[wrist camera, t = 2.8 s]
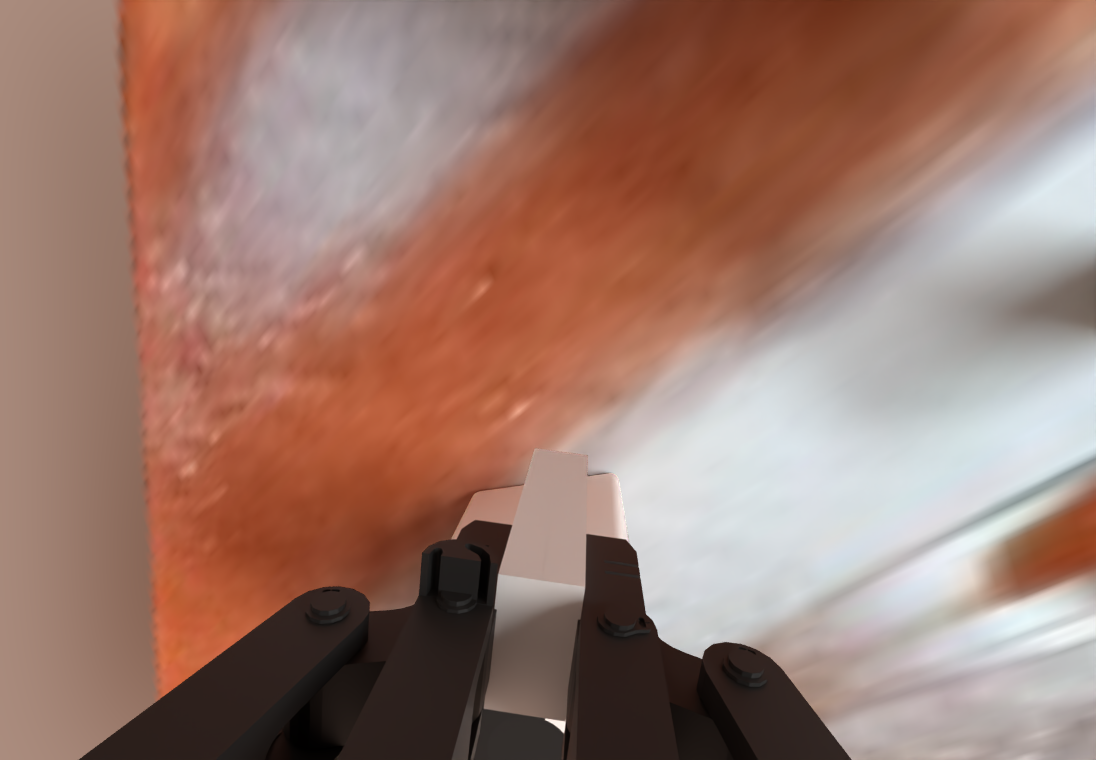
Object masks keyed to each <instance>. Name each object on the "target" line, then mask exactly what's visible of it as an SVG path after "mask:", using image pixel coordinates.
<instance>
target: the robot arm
mask: <svg viewBox="0 0 1096 760" xmlns="http://www.w3.org/2000/svg"><path fill="white" fill-rule="evenodd" d="M587 463H588V455H581V454H574V453H567V452H559V451H552V450H545V449H537V448H535V449H534V452H533V456H532V459H531V463H530V466H529V470H528V473H527V477H526V480H525V484H524V487H523V490H522V494H521V497H520V501H519V504H518V508H517V511H516V515H515V518H514V521H513V525H509V524H502V523H495V522H488V521H481V520H474V521H472V522H471V523H469V524H468V525H466V526H465V527H463V528H462V529H461V531H460V533H459V535H458V537H457V539H451V540H445V541H440V542H437V543H435V544H433V545H430V546H429V547H428V548H427V549H426V550H425V551H424V552H423V553H422V563H421V576H420V589H419V596H418V598H417V600H416V602H415V604H414V605H412V606H409V607H405V608H402V609H395V610H386V611H371V612H369V606H370V602H369V601H368V599H367V598H366V597H365V595H364V594H362V593H360V592H358V591H356V590H354V589H351V588H345V587H323V588H319V589H315V590H312V591H308V592H306V593H304V594H302V595H301V596H299V597H297V598H295V599H294V600H292V601H291V602H290V603H288V604H287V605H286V606H284V607H283V608H282V609H280V610H279V611H278V612H276V613H275V614H274V615H272V616H271V617H270V618H268V619H267V620H266V621H264V622H263V623H262V624H260V625H259V626H258V627H256V628H255V629H254V630H252V631H251V632H249V633H248V634H247V635H245V636H244V637H243V638H241V639H240V640H239V641H237V642H236V643H235V644H233V645H232V646H231V647H229V648H228V649H227V650H225V651H224V652H223V653H221V654H220V655H219V656H217V657H216V658H215V659H213V660H212V661H211V662H209V663H208V664H207V665H205V666H204V667H202V668H201V669H200V670H198V671H197V672H196V673H194V674H193V675H192V676H190V677H189V678H188V679H186V680H185V681H184V682H182V683H181V684H180V685H178V686H177V687H176V688H174V689H173V690H172V691H170V692H169V693H168V694H166V695H165V696H164V697H162V698H161V699H160V700H158V701H157V702H156V703H154V704H153V705H151V706H150V707H149V708H148V709H146V710H145V711H143V712H142V713H141V714H139V715H138V716H137V717H136V718H134V719H133V720H131V721H130V722H129V723H127V724H126V725H125V726H123V727H122V728H121V729H119V730H118V731H117V732H115V733H114V734H113V735H111V736H110V737H109V738H107V739H106V740H104V741H103V742H102V743H100V744H99V745H98V746H97V747H95V748H94V749H93V750H91V751H90V752H88V753H87V754H86V755H84V756H83V757H82V758H80V759H79V760H474V755H475V751H476V747H477V742H478V738H479V734H480V726H481V716H482V708H483V703H484V709H489V710H495V711H502V712H508V713H514V714H521V715H527V716H534V717H540V718H546V719H553V720H559V721H565V722H566V724H565V731H564V738H563V744H562V751H561V758H560V760H851V758H850V757H849V756H848V755H847V753H846V752H845V751H844V749H843V748H842V747H841V745H840V744H839V743H838V742H837V740H836V739H835V738H834V736H833V735H832V734H831V732H830V731H829V730H828V728H827V727H826V726H825V725H824V723H823V722H822V721H821V719H820V718H819V717H818V715H817V714H816V713H815V712H814V710H813V709H812V708H811V706H810V705H809V704H808V702H807V701H806V700H805V698H804V697H803V696H802V695H801V693H800V692H799V691H798V689H797V688H796V687H795V685H794V684H793V683H792V682H791V680H790V679H789V678H788V676H787V675H786V674H785V672H784V671H783V670H782V669H781V668H780V667H779V666H778V665H777V664H776V663H775V662H774V661H773V660H772V659H771V658H770V657H768V656H766V655H765V654H763V653H761V652H760V651H758V650H756V649H754V648H751V647H748V646H746V645H742V644H737V643H729V642H723V643H718V644H713V645H711V646H710V647H709V648H707V649H706V650H705V651H704V655H703V658H702V659H700V658H698V657H695V656H692V655H690V654H687V653H684V652H682V651H680V650H678V649H675V648H673V647H671V646H670V645H668V644H667V643H665V642H664V641H662V640H661V639H660V638H659V637H658V633H657V629H656V627H655V625H654V622H653V620H651V619H650V618H649V617H648V616H647V615H646V612H645V605H644V599H643V592H642V586H641V579H640V572H639V568H638V559H637V552H636V551H635V550H634V549H633V547H632V546H631V545H630V544H629V543H628V541H627V540H626V539H619V538H612V537H605V536H598V535H591V534H586V518H587ZM484 699H485V701H484Z"/></svg>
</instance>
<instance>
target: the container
mask: <svg viewBox="0 0 1096 760" xmlns="http://www.w3.org/2000/svg"><path fill="white" fill-rule="evenodd" d="M523 487H524V485H521V486H514V487H507V488H500V489H492V490H485V491H479V492H476V493H475V494H474V495H473V496H472V498H471V500H470V502H469V504H468V506H467V508H466V510H465V512H464V514H463V516H462V518H461V520H460V522H459V524H458V526H457V528H456V530H455V532H454V534H453V536H452V538H451V539H457V537H458V535H459V533H460V531H461V529H462V528H463V527H465V526H466V525H468V524H469V523H471V522H472V521H474V520H481V521H488V522H495V523H502V524H509V525H513V521H514V518H515V515H516V511H517V508H518V504H519V501H520V497H521V494H522V490H523ZM586 534H591V535H598V536H605V537H612V538H619V539H626V540H627V541H628V543H629V537H628V531H627V525H626V519H625V513H624V507H623V501H622V495H621V489H620V483H619V479H618V477H617V476H616V475H615V474H613V473H607V474H600V475H593V476H587V518H586ZM629 544H630V543H629ZM484 701H485V699H484ZM565 724H566V722H565V721H559V720H553V719H546V718H540V717H534V716H527V715H521V714H514V713H508V712H502V711H495V710H489V709H484V703H483V708H482V716H481V726H480V734H479V738H478V742H477V747H476V751H475V755H474V760H560V758H561V751H562V744H563V738H564V731H565Z"/></svg>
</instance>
